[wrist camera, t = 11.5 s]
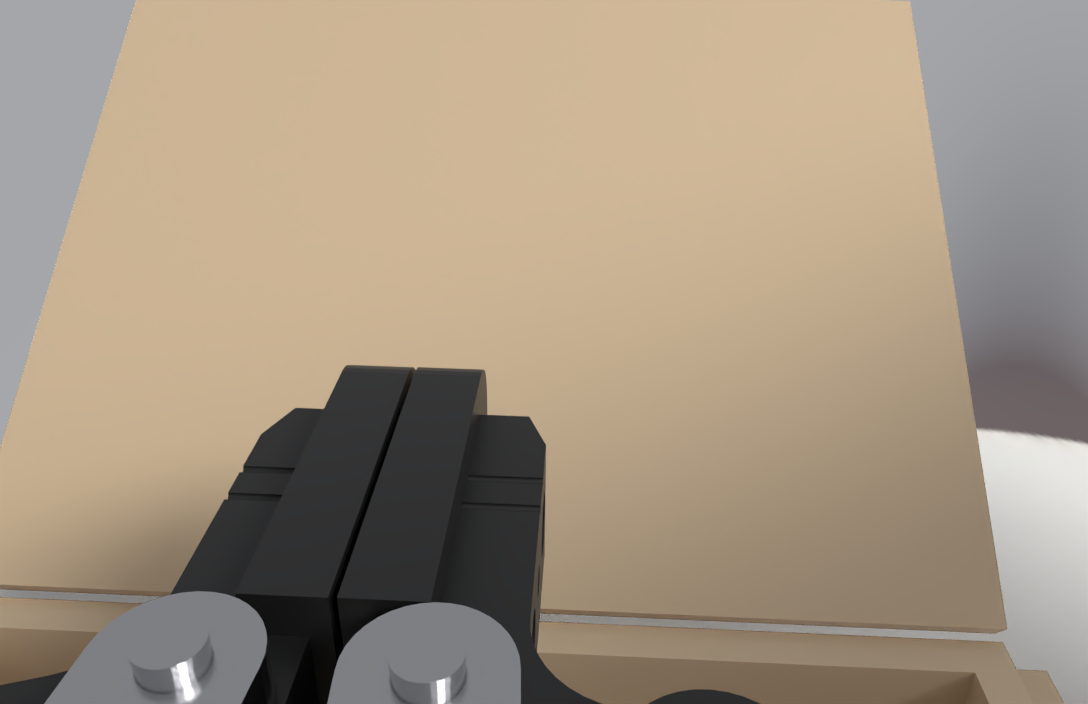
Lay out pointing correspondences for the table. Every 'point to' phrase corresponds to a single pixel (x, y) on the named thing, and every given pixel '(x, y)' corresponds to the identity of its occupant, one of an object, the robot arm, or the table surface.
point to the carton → (648, 660)
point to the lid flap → (527, 293)
